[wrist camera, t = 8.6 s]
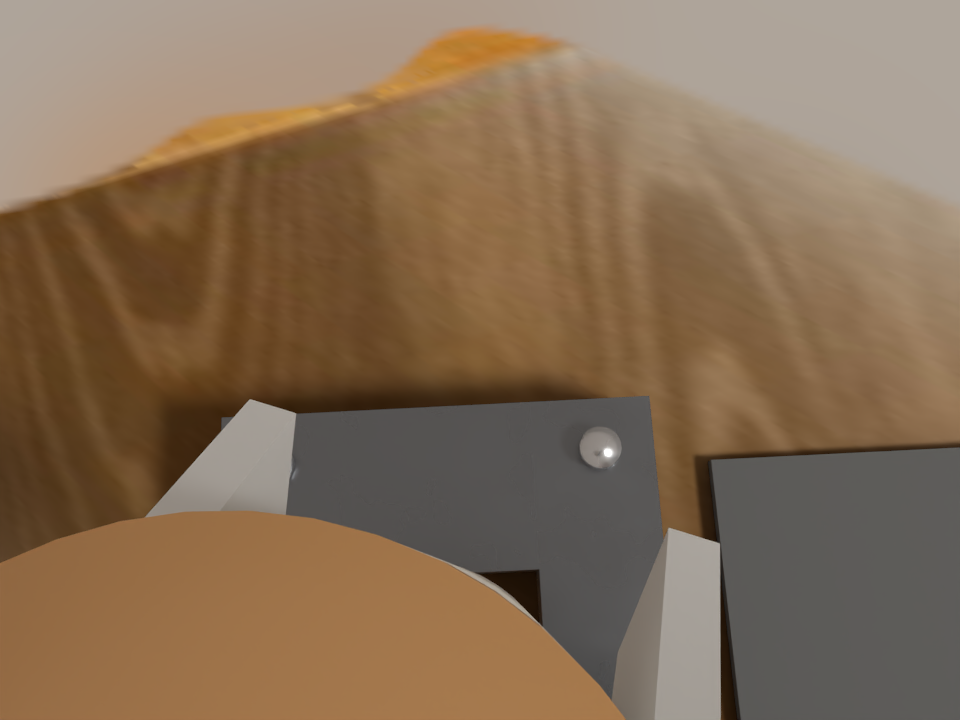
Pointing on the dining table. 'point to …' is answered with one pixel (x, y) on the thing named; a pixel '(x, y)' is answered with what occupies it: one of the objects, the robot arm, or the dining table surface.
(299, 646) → the white capped post
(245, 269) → the dining table surface
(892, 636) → the mat
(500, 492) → the plate
